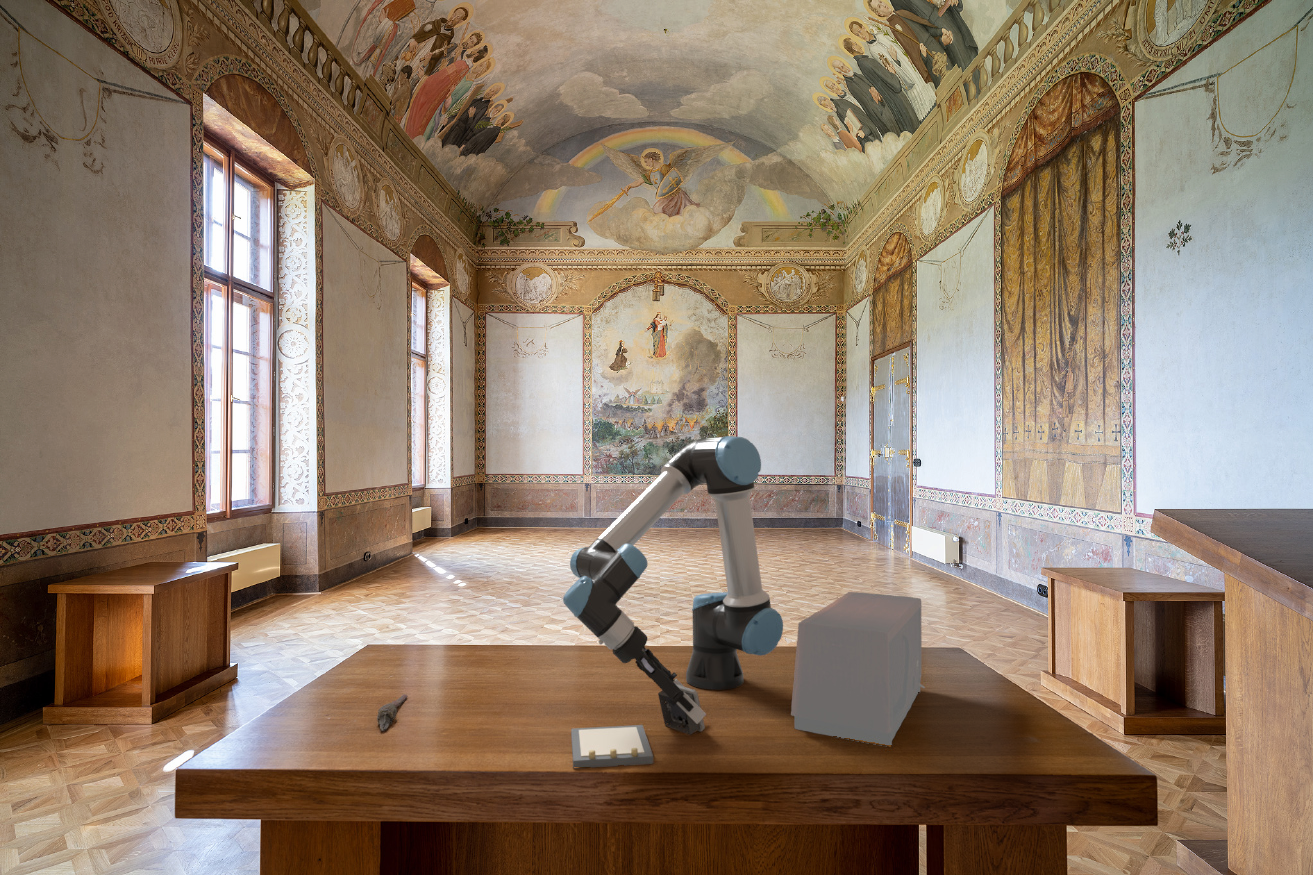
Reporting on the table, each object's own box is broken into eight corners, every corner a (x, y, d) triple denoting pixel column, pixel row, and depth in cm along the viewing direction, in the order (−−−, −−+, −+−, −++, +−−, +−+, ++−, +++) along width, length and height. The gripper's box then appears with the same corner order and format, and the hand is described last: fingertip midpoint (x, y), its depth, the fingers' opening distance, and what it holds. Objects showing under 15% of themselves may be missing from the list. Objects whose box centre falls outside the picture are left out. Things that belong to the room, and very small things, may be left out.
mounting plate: (642, 731, 142) (642, 719, 142) (653, 763, 126) (653, 749, 126) (571, 735, 139) (571, 722, 139) (573, 768, 124) (573, 754, 124)
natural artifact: (375, 740, 140) (364, 725, 140) (404, 700, 163) (394, 687, 162) (390, 729, 140) (379, 714, 140) (417, 690, 163) (407, 677, 163)
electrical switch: (705, 731, 142) (702, 688, 142) (689, 740, 138) (686, 696, 138) (674, 720, 148) (671, 678, 148) (657, 728, 145) (654, 686, 145)
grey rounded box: (843, 677, 181) (842, 589, 182) (931, 692, 169) (930, 598, 170) (783, 731, 142) (783, 619, 144) (893, 755, 131) (892, 633, 132)
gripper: (607, 638, 152) (675, 707, 153) (615, 664, 131) (694, 743, 132) (630, 614, 153) (698, 682, 155) (642, 636, 132) (720, 715, 133)
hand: (696, 710), depth 143 cm, fingers closed on electrical switch, 9 cm apart
